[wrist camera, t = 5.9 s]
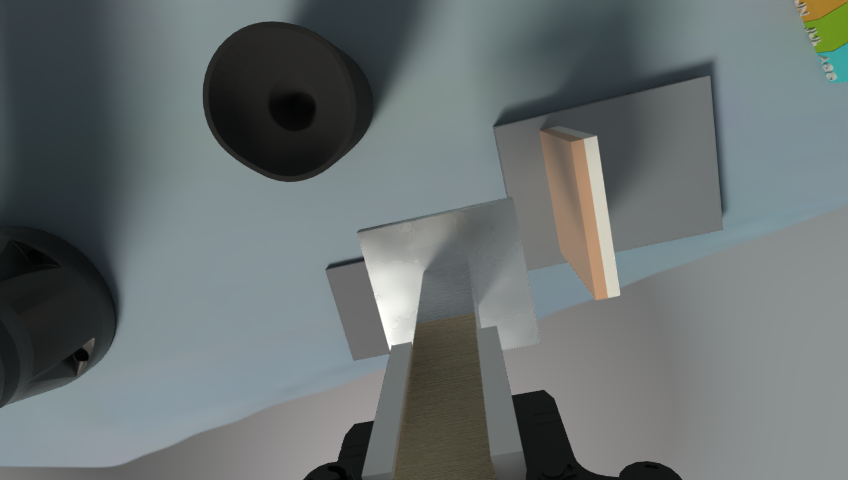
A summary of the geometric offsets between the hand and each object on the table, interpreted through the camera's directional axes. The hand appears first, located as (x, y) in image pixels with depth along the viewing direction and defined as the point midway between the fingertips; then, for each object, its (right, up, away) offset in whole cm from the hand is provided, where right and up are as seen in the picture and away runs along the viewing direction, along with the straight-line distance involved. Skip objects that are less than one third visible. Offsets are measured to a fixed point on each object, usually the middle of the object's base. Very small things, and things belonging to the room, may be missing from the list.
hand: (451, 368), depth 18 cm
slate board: (+14, +10, +22) cm, 28 cm away
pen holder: (-9, +16, +22) cm, 28 cm away
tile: (+10, +9, +21) cm, 25 cm away
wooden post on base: (0, +2, +8) cm, 9 cm away
